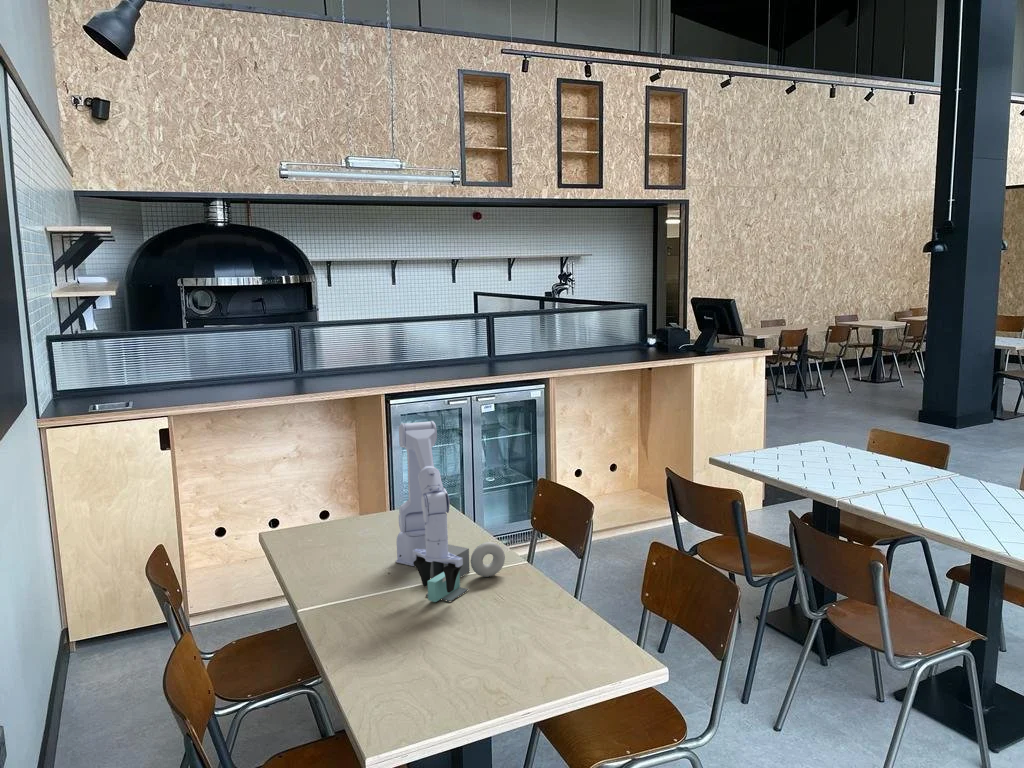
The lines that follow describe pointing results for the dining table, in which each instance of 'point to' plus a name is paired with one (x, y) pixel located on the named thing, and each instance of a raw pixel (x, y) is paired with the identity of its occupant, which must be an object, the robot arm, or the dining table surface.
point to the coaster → (454, 594)
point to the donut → (496, 562)
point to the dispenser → (438, 566)
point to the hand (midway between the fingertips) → (438, 588)
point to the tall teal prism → (440, 587)
